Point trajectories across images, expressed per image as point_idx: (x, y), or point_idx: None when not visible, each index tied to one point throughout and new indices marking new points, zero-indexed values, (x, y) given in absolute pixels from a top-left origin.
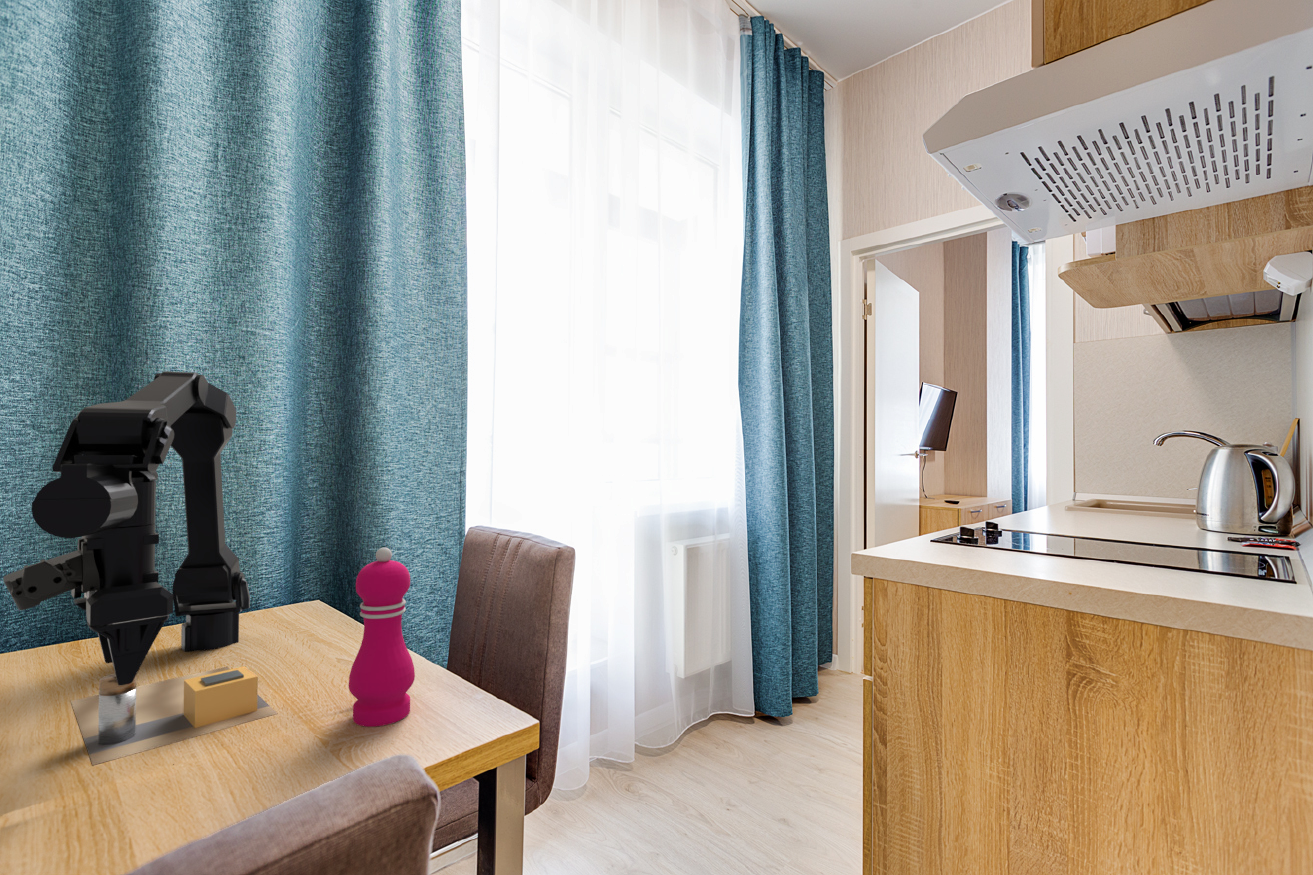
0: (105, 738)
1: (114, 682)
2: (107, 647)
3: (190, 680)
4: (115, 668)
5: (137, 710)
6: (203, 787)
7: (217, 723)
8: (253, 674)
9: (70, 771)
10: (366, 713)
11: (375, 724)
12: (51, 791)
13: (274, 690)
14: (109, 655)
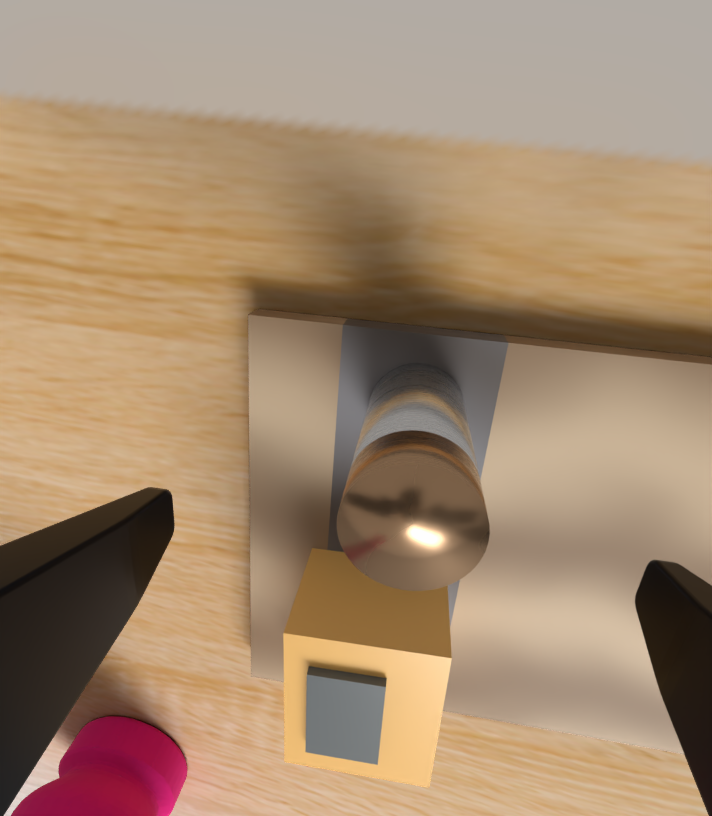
0: (384, 379)
1: (343, 497)
2: (701, 641)
3: (425, 665)
4: (52, 527)
5: (622, 507)
6: (14, 450)
7: (297, 586)
8: (312, 764)
9: (340, 274)
10: (78, 746)
11: (82, 728)
12: (232, 212)
13: (483, 737)
14: (666, 602)
